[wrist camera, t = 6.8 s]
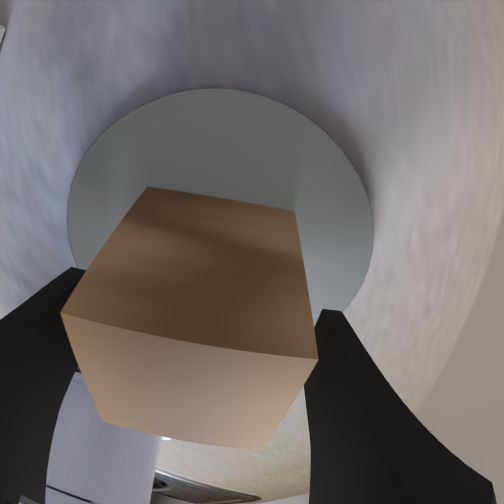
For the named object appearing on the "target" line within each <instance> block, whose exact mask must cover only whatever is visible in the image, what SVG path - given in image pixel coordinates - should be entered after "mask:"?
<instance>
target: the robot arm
mask: <svg viewBox="0 0 504 504" xmlns="http://www.w3.org/2000/svg"><path fill="white" fill-rule="evenodd" d="M85 272H86V270H83V269H78V268H73V267H71V268H69V269H68V270H66V271H65V272H63V273H62V274H61V275H59V276H58V277H57V278H55V279H54V280H53V281H51V282H50V283H49V284H47V285H46V286H45V287H43V288H42V289H41V290H39V291H38V292H37V293H36V294H34V295H33V296H32V297H30V298H29V299H28V300H26V301H25V302H24V303H23V304H21V305H20V306H19V307H17V308H16V309H14V310H13V311H12V312H10V313H9V314H8V315H6V316H5V317H4V318H2V319H1V320H0V504H150V497H151V492H152V486H153V480H154V474H155V469H156V463H157V458H158V452H159V447H160V442H161V439H164V440H170V439H171V438H167V437H162V436H157V435H153V434H148V433H144V432H140V431H135V430H131V429H128V428H124V427H120V426H116V425H113V424H109V423H106V422H103V421H102V419H101V417H100V415H99V413H98V411H97V409H96V406H95V404H94V402H93V400H92V397H91V395H90V393H89V390H88V388H87V386H86V383H85V381H84V378H83V376H82V373H78V372H75V371H76V369H77V367H78V363H77V361H76V358H75V355H74V352H73V350H72V347H71V344H70V341H69V338H68V335H67V332H66V329H65V326H64V323H63V320H62V316H61V313H60V312H61V310H62V309H63V307H64V305H65V304H66V302H67V300H68V299H69V297H70V296H71V294H72V292H73V291H74V289H75V287H76V286H77V284H78V283H79V281H80V280H81V278H82V277H83V275H84V273H85ZM314 331H315V338H316V345H317V353H318V361H317V363H316V365H315V367H314V368H313V370H312V372H311V374H310V375H309V377H308V379H307V380H306V382H305V384H304V391H305V399H306V408H307V416H308V425H309V434H310V446H311V476H310V496H309V504H497V503H496V498H495V493H494V489H493V485H492V482H490V481H489V480H487V479H486V478H485V477H483V476H482V475H480V474H479V473H477V472H476V471H474V470H473V469H472V468H470V467H468V466H467V465H466V464H465V463H464V462H462V461H461V460H460V459H459V458H458V457H456V456H455V455H454V454H452V453H451V452H450V451H449V450H448V449H447V448H446V447H445V446H444V445H443V444H442V443H440V442H439V441H438V440H437V439H436V438H435V437H434V436H433V435H432V434H431V433H430V432H429V431H428V430H427V429H426V428H425V427H424V426H423V424H422V423H421V422H420V421H419V420H418V419H417V418H416V417H415V415H414V414H413V413H412V412H411V411H410V410H409V408H408V407H407V406H406V405H405V404H404V403H403V401H402V400H401V399H400V398H399V396H398V395H397V394H396V392H395V391H394V390H393V388H392V387H391V386H390V384H389V383H388V381H387V380H386V379H385V377H384V376H383V374H382V373H381V372H380V370H379V369H378V367H377V366H376V364H375V363H374V361H373V360H372V358H371V357H370V355H369V354H368V352H367V351H366V349H365V348H364V346H363V344H362V343H361V341H360V340H359V338H358V337H357V335H356V333H355V332H354V330H353V329H352V327H351V326H350V324H349V322H348V321H347V319H346V318H345V316H344V315H343V313H342V312H341V311H338V310H330V309H322V311H321V313H320V315H319V317H318V320H317V322H316V324H315V327H314Z"/></svg>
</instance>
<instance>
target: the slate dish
mask: <svg viewBox="0 0 504 504" xmlns="http://www.w3.org/2000/svg"><path fill="white" fill-rule="evenodd" d="M147 186H148V187H155V188H162V189H169V190H176V191H182V192H188V193H195V194H201V195H207V196H213V197H219V198H225V199H231V200H237V201H242V202H248V203H254V204H259V205H265V206H270V207H275V208H281V209H286V210H291V211H295V216H296V222H297V227H298V233H299V238H300V244H301V250H302V255H303V261H304V267H305V273H306V279H307V285H308V292H309V298H310V304H311V311H312V318H313V324H314V327H315V324H316V322H317V320H318V317H319V315H320V313H321V311H322V309H330V310H338V311H341V312H342V313H343V312H344V311H345V310H346V308H347V307H348V306H349V304H350V303H351V302H352V300H353V299H354V298H355V296H356V294H357V293H358V291H359V289H360V287H361V286H362V284H363V282H364V279H365V276H366V274H367V271H368V268H369V265H370V261H371V256H372V251H373V237H374V229H373V219H372V211H371V208H370V204H369V200H368V197H367V193H366V191H365V189H364V186H363V184H362V182H361V180H360V178H359V175H358V173H357V172H356V170H355V169H354V167H353V166H352V164H351V163H350V161H349V160H348V158H347V157H346V155H345V154H344V153H343V151H342V150H341V149H340V148H339V146H338V145H337V144H336V143H335V142H334V141H333V140H332V139H331V138H330V137H329V136H328V135H327V134H326V132H325V131H324V130H323V129H321V128H320V127H319V126H318V125H316V124H315V123H314V122H312V121H311V120H310V119H309V118H307V117H306V116H305V115H303V114H301V113H300V112H298V111H296V110H294V109H293V108H291V107H289V106H287V105H285V104H283V103H281V102H278V101H276V100H273V99H271V98H268V97H265V96H263V95H259V94H255V93H250V92H246V91H241V90H235V89H221V88H207V89H195V90H187V91H183V92H179V93H174V94H170V95H167V96H164V97H162V98H159V99H157V100H154V101H152V102H149V103H147V104H145V105H142V106H140V107H138V108H136V109H134V110H133V111H131V112H129V113H128V114H126V115H125V116H123V117H121V118H120V119H118V120H117V121H116V122H114V123H113V124H112V125H111V126H110V127H109V128H108V129H106V130H105V131H104V132H103V133H102V134H101V135H100V136H99V137H98V138H97V140H96V141H95V142H94V143H93V144H92V146H91V147H90V148H89V149H88V151H87V152H86V154H85V156H84V158H83V159H82V161H81V163H80V165H79V166H78V168H77V171H76V174H75V176H74V179H73V181H72V184H71V188H70V193H69V198H68V205H67V229H68V237H69V242H70V246H71V251H72V254H73V257H74V259H75V262H76V265H77V267H78V269H83V270H87V269H88V267H89V266H90V264H91V263H92V261H93V260H94V258H95V257H96V255H97V254H98V252H99V251H100V250H101V248H102V247H103V245H104V244H105V242H106V241H107V240H108V238H109V237H110V235H111V234H112V232H113V231H114V230H115V228H116V227H117V226H118V224H119V223H120V221H121V220H122V219H123V217H124V216H125V215H126V213H127V212H128V211H129V209H130V208H131V207H132V205H133V204H134V203H135V201H136V200H137V199H138V198H139V196H140V195H141V194H142V192H143V191H144V190H145V189H146V187H147Z"/></svg>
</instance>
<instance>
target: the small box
mask: <svg viewBox="0 0 504 504" xmlns="http://www.w3.org/2000/svg"><path fill="white" fill-rule="evenodd" d="M5 28H6V27H5V26H1V25H0V44H1V41H2V38H3V35H4V32H5Z"/></svg>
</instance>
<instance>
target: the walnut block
mask: <svg viewBox="0 0 504 504" xmlns="http://www.w3.org/2000/svg"><path fill="white" fill-rule="evenodd" d="M60 313H61V316H62V320H63V323H64V326H65V329H66V332H67V335H68V338H69V341H70V344H71V347H72V350H73V352H74V355H75V358H76V361H77V363H78V366H79V368H80V371H81V373H82V376H83V378H84V381H85V383H86V386H87V388H88V390H89V393H90V395H91V397H92V400H93V402H94V404H95V406H96V409H97V411H98V413H99V415H100V417H101V419H102V421H103V422H106V423H109V424H113V425H116V426H120V427H124V428H128V429H131V430H135V431H140V432H144V433H148V434H153V435H157V436H162V437H167V438H172V439H177V440H183V441H189V442H195V443H201V444H208V445H215V446H223V447H231V448H241V449H251V450H263V449H264V447H265V446H266V444H267V443H268V441H269V440H270V438H271V437H272V435H273V434H274V432H275V431H276V429H277V428H278V426H279V425H280V423H281V421H282V420H283V418H284V417H285V415H286V414H287V412H288V410H289V409H290V407H291V405H292V404H293V402H294V401H295V399H296V397H297V396H298V394H299V392H300V391H301V389H302V387H303V386H304V384H305V382H306V380H307V379H308V377H309V375H310V374H311V372H312V370H313V368H314V367H315V365H316V363H317V361H318V353H317V345H316V338H315V331H314V324H313V318H312V311H311V304H310V298H309V292H308V285H307V279H306V273H305V267H304V261H303V255H302V250H301V244H300V238H299V233H298V227H297V222H296V216H295V211H291V210H286V209H281V208H275V207H270V206H265V205H259V204H254V203H248V202H242V201H237V200H231V199H225V198H219V197H213V196H207V195H201V194H195V193H188V192H182V191H176V190H169V189H162V188H155V187H148V186H147V187H146V189H145V190H144V191H143V192H142V194H141V195H140V196H139V198H138V199H137V200H136V201H135V203H134V204H133V205H132V207H131V208H130V209H129V211H128V212H127V213H126V215H125V216H124V217H123V219H122V220H121V221H120V223H119V224H118V226H117V227H116V228H115V230H114V231H113V232H112V234H111V235H110V237H109V238H108V240H107V241H106V242H105V244H104V245H103V247H102V248H101V250H100V251H99V252H98V254H97V255H96V257H95V258H94V260H93V261H92V263H91V264H90V266H89V267H88V269H87V270H86V272H85V273H84V275H83V277H82V278H81V280H80V281H79V283H78V284H77V286H76V287H75V289H74V291H73V292H72V294H71V296H70V297H69V299H68V300H67V302H66V304H65V305H64V307H63V309H62V310H61V312H60Z"/></svg>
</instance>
